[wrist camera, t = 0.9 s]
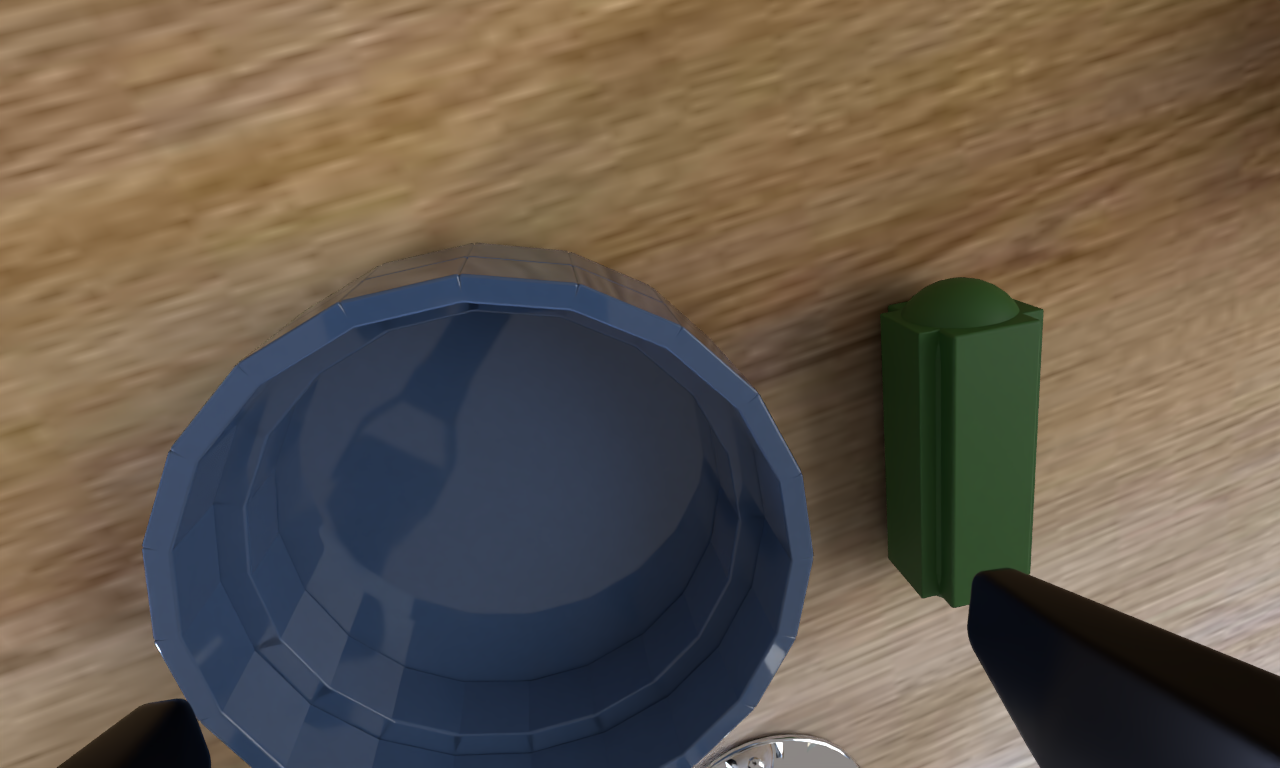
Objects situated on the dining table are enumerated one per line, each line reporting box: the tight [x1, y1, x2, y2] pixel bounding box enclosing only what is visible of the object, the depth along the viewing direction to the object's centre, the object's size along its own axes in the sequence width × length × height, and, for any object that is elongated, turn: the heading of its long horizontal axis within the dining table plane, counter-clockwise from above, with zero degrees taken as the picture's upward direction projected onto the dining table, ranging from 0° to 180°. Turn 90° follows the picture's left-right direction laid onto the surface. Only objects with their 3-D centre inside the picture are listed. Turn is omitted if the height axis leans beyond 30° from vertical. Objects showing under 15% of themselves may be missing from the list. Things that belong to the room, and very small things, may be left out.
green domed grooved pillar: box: [880, 277, 1043, 608], centre depth 21 cm, size 10×4×4 cm, turn 9°
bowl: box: [142, 243, 813, 768], centre depth 19 cm, size 15×15×5 cm
